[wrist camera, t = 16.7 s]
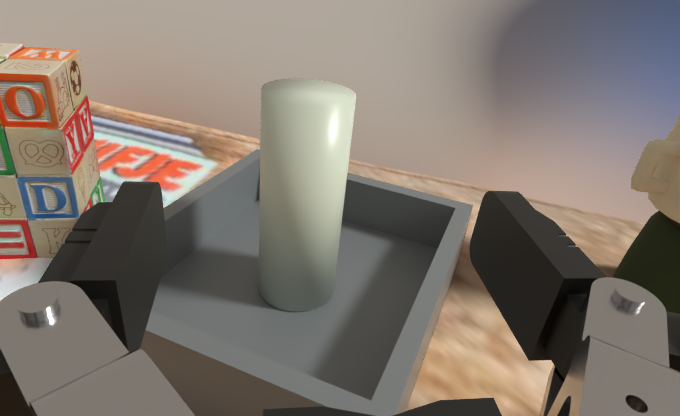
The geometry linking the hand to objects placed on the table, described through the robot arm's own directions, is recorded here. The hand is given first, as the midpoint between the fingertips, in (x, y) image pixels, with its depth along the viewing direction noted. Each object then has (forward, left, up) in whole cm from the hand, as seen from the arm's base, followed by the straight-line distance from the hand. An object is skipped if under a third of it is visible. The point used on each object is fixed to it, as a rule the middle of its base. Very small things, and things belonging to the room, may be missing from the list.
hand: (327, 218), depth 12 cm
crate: (-6, +11, -14) cm, 19 cm away
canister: (-6, +11, -13) cm, 18 cm away
